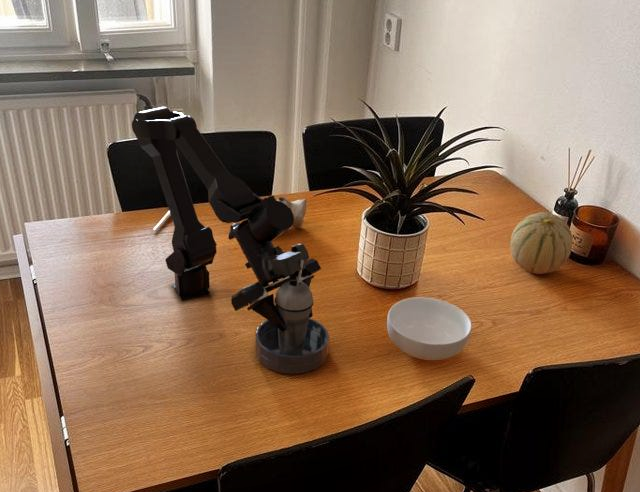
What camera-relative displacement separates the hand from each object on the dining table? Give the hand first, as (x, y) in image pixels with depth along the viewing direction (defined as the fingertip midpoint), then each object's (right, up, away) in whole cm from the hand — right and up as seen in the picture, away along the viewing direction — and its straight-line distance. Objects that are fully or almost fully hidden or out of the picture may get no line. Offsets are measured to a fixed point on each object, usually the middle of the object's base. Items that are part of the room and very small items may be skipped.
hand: (297, 323), depth 132 cm
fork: (-37, +27, +50) cm, 68 cm away
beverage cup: (-2, -5, +5) cm, 7 cm away
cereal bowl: (+25, -5, +10) cm, 28 cm away
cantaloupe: (+56, +13, +42) cm, 71 cm away
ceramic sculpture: (-8, +24, +50) cm, 56 cm away
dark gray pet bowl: (-2, -6, +5) cm, 8 cm away
